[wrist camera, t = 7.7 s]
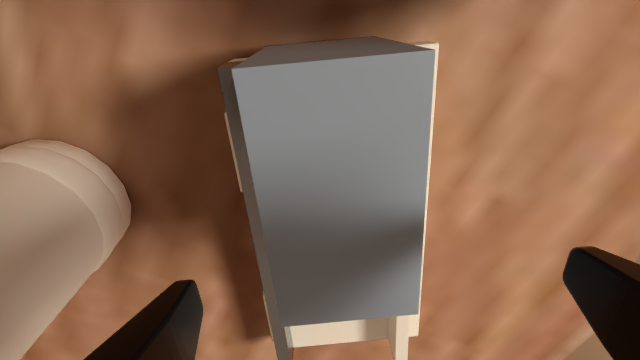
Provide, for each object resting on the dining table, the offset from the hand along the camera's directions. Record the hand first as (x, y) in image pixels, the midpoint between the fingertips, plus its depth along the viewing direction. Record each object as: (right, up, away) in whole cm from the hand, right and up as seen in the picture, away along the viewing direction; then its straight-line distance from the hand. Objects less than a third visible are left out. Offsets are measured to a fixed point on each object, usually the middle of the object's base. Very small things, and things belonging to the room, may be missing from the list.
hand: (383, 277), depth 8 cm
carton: (-1, +5, +9) cm, 11 cm away
